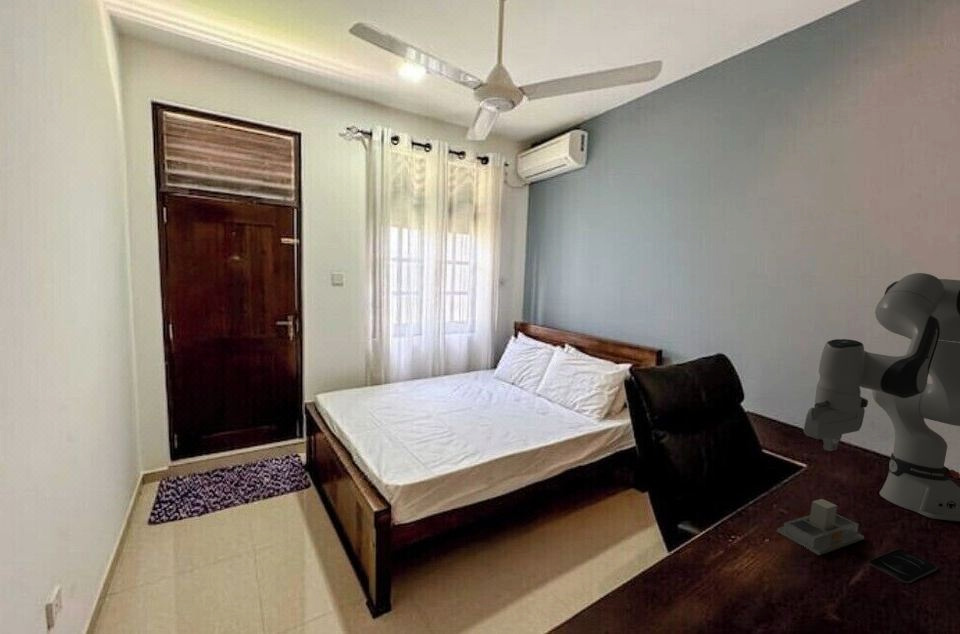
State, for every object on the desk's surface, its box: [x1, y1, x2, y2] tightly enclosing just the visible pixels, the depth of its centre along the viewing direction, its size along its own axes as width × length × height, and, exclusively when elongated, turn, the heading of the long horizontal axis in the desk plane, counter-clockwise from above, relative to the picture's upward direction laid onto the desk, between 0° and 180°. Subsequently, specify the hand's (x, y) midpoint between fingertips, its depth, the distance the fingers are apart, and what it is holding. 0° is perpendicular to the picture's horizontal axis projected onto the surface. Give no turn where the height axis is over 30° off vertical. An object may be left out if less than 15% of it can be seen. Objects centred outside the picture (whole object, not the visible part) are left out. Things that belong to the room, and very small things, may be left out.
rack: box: [776, 513, 865, 556], centre depth 110 cm, size 20×10×4 cm, turn 113°
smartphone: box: [868, 548, 938, 584], centre depth 99 cm, size 8×1×15 cm
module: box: [809, 498, 838, 531], centre depth 110 cm, size 4×4×8 cm
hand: (829, 449), depth 110 cm, fingers closed
